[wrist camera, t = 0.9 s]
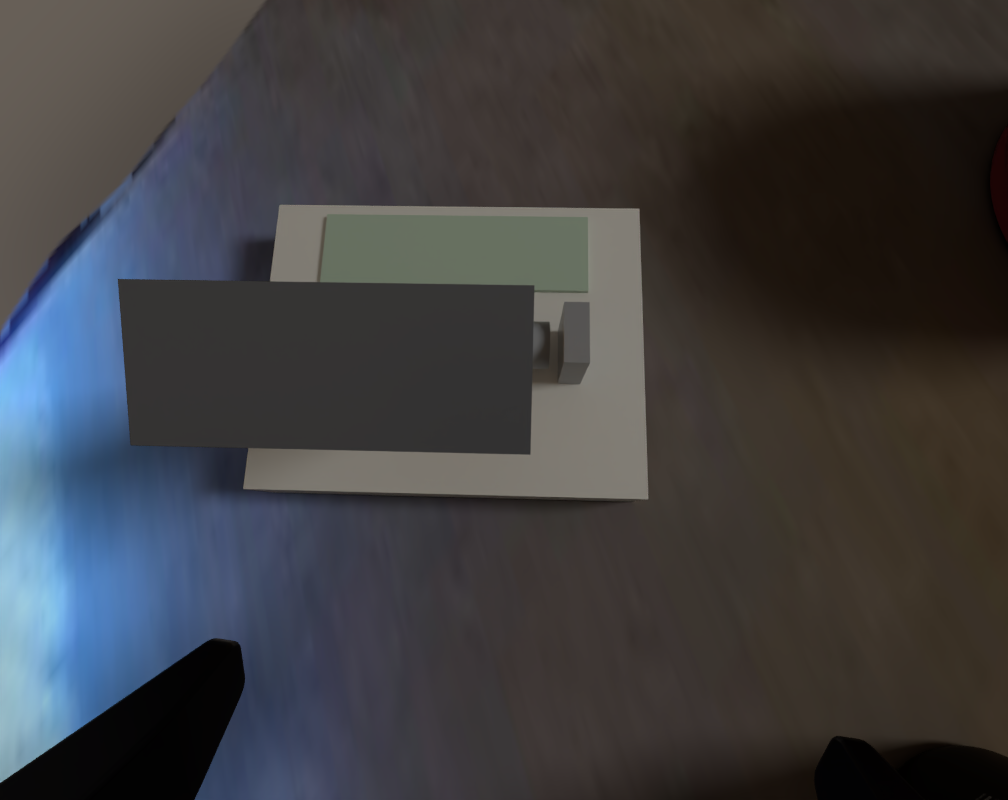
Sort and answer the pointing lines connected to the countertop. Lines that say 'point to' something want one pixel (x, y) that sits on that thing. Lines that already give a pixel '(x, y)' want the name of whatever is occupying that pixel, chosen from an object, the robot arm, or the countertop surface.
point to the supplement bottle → (958, 774)
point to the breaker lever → (331, 365)
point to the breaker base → (555, 391)
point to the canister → (1000, 182)
